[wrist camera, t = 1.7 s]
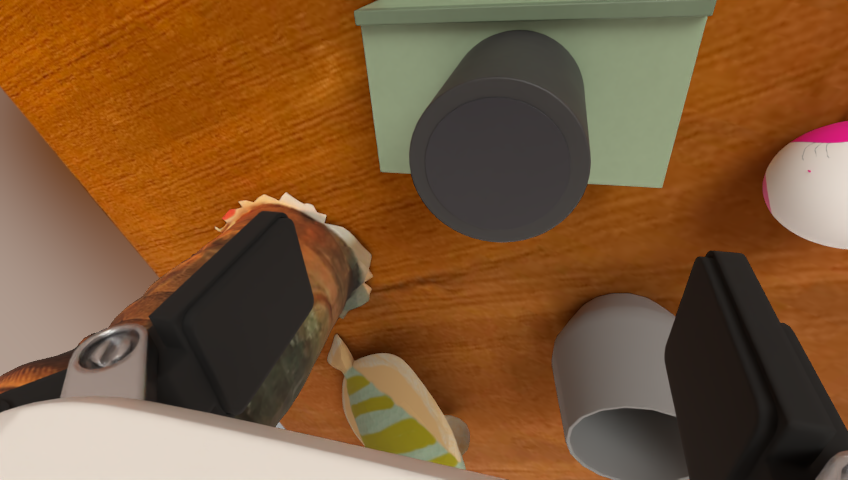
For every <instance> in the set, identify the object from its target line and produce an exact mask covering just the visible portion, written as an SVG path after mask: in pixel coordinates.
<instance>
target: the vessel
mask: <svg viewBox="0 0 848 480" xmlns="http://www.w3.org/2000/svg"><path fill="white" fill-rule="evenodd" d="M238 202H239V203H240V205H241V206H242V208H238V209H230V210H229V211H228V212H227V213H226V214H225V216H224V217H223V218H222V219H223V220H224V221H225V222H227V223H226V225H225V226H224V227H223V228H221V229H219V228H217V227H216V226H215V229H216V230H218V231H219V232H221V233H222V234H221V235H219V236H218V237H217V238H215V239H214V240H212V241H211V242H209V243H208V244H207V245H205V246H204V247H202V248H201V249H200V250H199V251H198V252H197V253H196V254H193V255H192V256H191V257H190V258H189V259H187V260H185V261H183V262H182V263H180V264H179V265H177V266H176V267H175V268H173V269H172V270H171V271H169V272H168V273H166V274H165V275H163V276H162V277H161V278H159V279H158V280H157V281H156V282H154V283H153V284H152V285H151V286H150V287H149V288H148V290H147V291H146V293H145V294H144V295H143V296H142V297H141V298H139V299H138V300H136V301H135V302H133V303H132V304H130V305H129V306H128V307H126V308H125V309H124V310H123V311H122V312H121V313H120V314H119V315H118V316H117V317H116V318H115V319H114V321H113V322H112V323H111V325H110V326H109V327H111V326H114V325H119V324H123V323H136V324H140V325H142V326H143V327H144V328H146V329H147V330H148V329H149V328H150V327H151V326H152V325H153V324H152V322H151V320H150V318H149V317H148V316H149V315H150V314H151V313H152V312H153V311H154V310H155V309H157V308H158V307H159V306H160V305H161V304H162V303H163V302H164V301H165V300H166V299H167V298H168V297H169V296H170V295H172V294H173V293H174V292H175V291H176V290H177V289H178V288H179V287H180V286H181V285H182V284H183V283H184V282H185V281H187V280H188V279H189V278H190V277H191V276H192V275H193V274H194V273H195V272H196V271H197V270H198V269H199V268H200V267H202V266H203V265H204V264H205V263H206V262H207V261H208V260H209V259H210V258H211V257H212V256H213V255H214V254H215V253H217V252H218V251H219V250H220V249H221V248H222V247H223V246H224V245H225V244H226V243H227V242H228V241H229V240H230V239H232V238H233V237H234V236H235V235H236V234H237V233H238V232H239V231H240V230H241V229H242V228H243V227H244V226H245V225H247V224H248V223H249V222H250V221H251V220H252V219H253V218H254V217H255V216H256V215H257V214H258V213H260V212H261V211H273V212H283V213H285V214H286V215H287V216H288V218H289V219H292V221H293V222H294V225H295V229H296V233H297V236H298V240H299V244H300V248H301V251H302V255H303V259H304V262H305V266H306V270H307V274H308V277H309V281H310V285H311V289H312V292H313V296H314V304H313V308H312V310H311V312H310V313H309V315H308V316H307V318H306V319H305V321H304V322H303V324H302V325H301V327H300V328H299V330H298V331H297V333H296V334H295V336H294V337H293V339H292V340H291V342H290V343H289V345H288V346H287V348H286V349H285V351H284V352H283V354H282V355H281V357H280V358H279V360H278V361H277V363H276V364H275V366H274V367H273V369H272V370H271V372H270V373H269V375H268V376H267V378H266V379H265V381H264V382H263V384H262V385H261V387H260V388H259V390H258V391H257V393H256V394H255V396H254V397H253V399H252V400H251V402H250V403H249V405H248V406H247V408H246V409H245V410H244V411H243V413H241V414H240V415H236V416H235V418H234V419H239V420H244V421H248V422H253V423H257V424H262V425H267V426H271V427H276V425H277V424H278V422H279V421H280V420H281V418H282V417H283V416H284V415H285V414H286V412H287V411H288V410H289V408H290V407H291V405H292V404H293V402H294V401H295V399H296V397H297V396H298V394H299V393H300V391H301V389H302V388H303V386H304V384H305V382H306V380H307V378H308V376H309V374H310V372H311V370H312V368H313V366H314V363H315V362H316V360H317V358H318V356H319V355H320V353H321V350H322V348H323V346H324V344H325V342H326V340H327V338H328V336H329V334H330V332H331V330H332V328H333V326H334V325H335V323H336V321H337V320H338V318H339V317H340V318H342V319H343V318H344V317H345V316H346V314H347V312H348V311H349V310H352V309H354V308H357V307H359V306H362V305H364V304H365V303H366V302H367V301H368V300H369V294H370V291H371V289H372V288H371V287H369V286H368V285H366V284H365V283H364V282H366V281H367V280H369V279H370V278H372V277H373V275H372V274H371V272H370V271H369V266H370V262H371V257H372V255H371V254H370V253H369V252H368V251H367V250H366V249H365V248H364V247H363V246H362V245H361V244H360V243H359V241H358V240H357V239H356V238H355V237H354V236H353V235H352V234H351V233H350V232H349V231H347V230H346V229H345V228H343V227H340V226H336V225H331V224H325V219H326V215H324V214H321V213H318V212H317V211H316V210H315V208H314V206H313V205H311V204H308V203H307V204H303V203H301V202H300V201H298V200H296V199H295V198H293V197H292V196H290V195H289V194H288V193H285V194H284V195H283V196H282V197H281V199H280V200H279V201H278V200H276V199H274V198H272V197H270V196H267V195H264V194H263V195H262V196H260V197H259V198H258V199H257V200H256V201H255V202H250V201H247V200H244V201H238ZM109 327H108V328H109ZM97 333H98V332H97ZM94 334H96V333H93V334H91V335H89V336H87V337H85V338H84V339H83V340H82V341H81V342H80V343H79V344H78V346H77V347H76V348H75V349H73V350H71V351H68V352H66V353H63V354H60V355H58V356H54V357H50V358H46V359H42V360H37V361H33V362H30V363H27V364H24V365H21V366H19V367H17V368H15V369H13V370H11V371H9V372H7V373H5V374H3V375H2V376H0V394H1V393H3V392H6V391H9V390H11V389H14V388H17V387H19V386H22V385H25V384H27V383H30V382H33V381H35V380H38V379H41V378H43V377H46V376H49V375H51V374H54V373H57V372H59V371H62V370H65V369H67V368H68V365H69V361H70V359H71V357H72V355H73V352H74V351H75V350H76V349H77V348H78V347H79V346H80V344H82V343H83V342H84V341H85V340H87V339H88V338H89V337H91V336H92V335H94Z"/></svg>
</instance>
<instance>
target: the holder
mask: <svg viewBox="0 0 848 480" xmlns="http://www.w3.org/2000/svg"><path fill="white" fill-rule="evenodd" d="M409 165H410V171H411V176H412V179H413V183H414V185H415V188H416V190H417V192H418V194H419V196H420V198H421V199H422V201H423V202H424V204H425V205H426V206H427V208H428V209H429V210H430V211H431V212H432V213H433V214H434V215H435V216H436V217H437V218H438V219H439V220H440V221H442V222H443V223H444V224H446V225H447V226H449V227H450V228H452V229H453V230H455V231H457V232H459V233H461V234H464V235H466V236H469V237H472V238H475V239H479V240H483V241H490V242H515V241H520V240H526V239H529V238H532V237H535V236H538V235H540V234H542V233H545V232H547V231H548V230H550V229H552V228H554V227H555V226H556V225H558V224H559V223H560V222H562V221H563V220H564V219H565V218H566V217H567V216H568V215H569V214H570V213H571V212H572V211H573V209H574V208H575V207H576V206H577V204H578V203H579V201H580V199H581V198H582V196H583V194H584V192H585V189H586V186H587V184H588V180H589V176H590V168H591V155H590V143H589V133H588V122H587V112H586V102H585V91H584V83H583V78H582V75H581V72H580V69H579V67H578V65H577V63H576V61H575V60H574V58H573V57H572V55H571V54H570V53H569V52H568V51H567V50H566V49H565V48H564V47H563V46H562V45H561V44H560V43H558V42H557V41H555V40H554V39H552V38H550V37H548V36H546V35H544V34H541V33H538V32H534V31H528V30H511V31H505V32H501V33H497V34H495V35H492V36H490V37H488V38H486V39H484V40H482V41H481V42H479V43H478V44H477V45H475V46H474V47H473V48H472V49H471V50H470V51H469V52H468V53H467V54H466V55H465V57H464V58H463V59H462V60H461V62H460V63H459V64H458V66H457V67H456V68H455V70H454V71H453V73H452V74H451V75H450V77H449V78H448V79H447V81H446V82H445V83H444V85H443V86H442V88H441V89H440V90H439V92H438V93H437V94H436V96H435V97H434V98H433V100H432V101H431V103H430V104H429V105H428V107H427V108H426V109H425V111H424V112H423V114H422V115H421V117H420V119H419V120H418V122H417V124H416V126H415V129H414V131H413V134H412V138H411V142H410V149H409Z"/></svg>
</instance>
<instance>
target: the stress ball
mask: <svg viewBox="0 0 848 480" xmlns="http://www.w3.org/2000/svg"><path fill="white" fill-rule="evenodd" d="M763 196H764V200H765V203H766V205H767V207H768V209H769V210H770V212H771V213H772V215H773V216H774V217H775V218H776V220H777V221H778V222H779V223H781V224H782V225H783V226H784V227H785V228H787V229H788V230H790V231H791V232H793V233H795V234H796V235H798V236H800V237H802V238H804V239H807V240H809V241H812V242H815V243H818V244H821V245H825V246H829V247H834V248H841V249H848V121H844V122H839V123H834V124H831V125H827V126H823V127H820V128H817V129H815V130H812V131H810V132H808V133H806V134H804V135H802V136H800V137H798V138H796V139H795V140H793V141H792V142H790V143H789V144H787V145H786V146H785V147H784V148H783V149H781V150H780V151H779V152H778V153H777V155H776V156H775V157H774V158H773V160H772V161H771V162H770V164H769V166H768V168H767V170H766V173H765V175H764V180H763Z"/></svg>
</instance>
